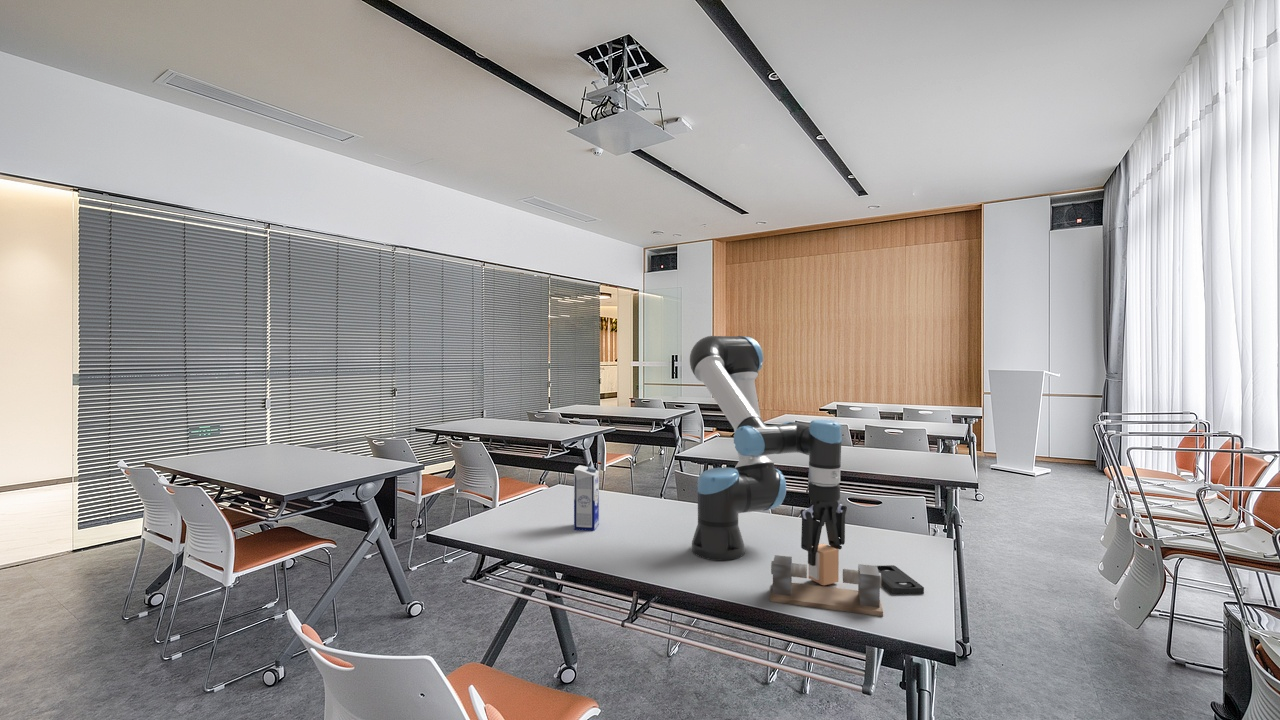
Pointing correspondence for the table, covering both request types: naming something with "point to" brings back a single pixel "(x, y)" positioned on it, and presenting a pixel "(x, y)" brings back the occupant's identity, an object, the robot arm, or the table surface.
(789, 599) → the shaft bench
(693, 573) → the table surface
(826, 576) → the coupler block
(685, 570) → the table surface
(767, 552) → the table surface
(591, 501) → the milk carton
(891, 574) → the vhs tape
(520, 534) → the table surface
